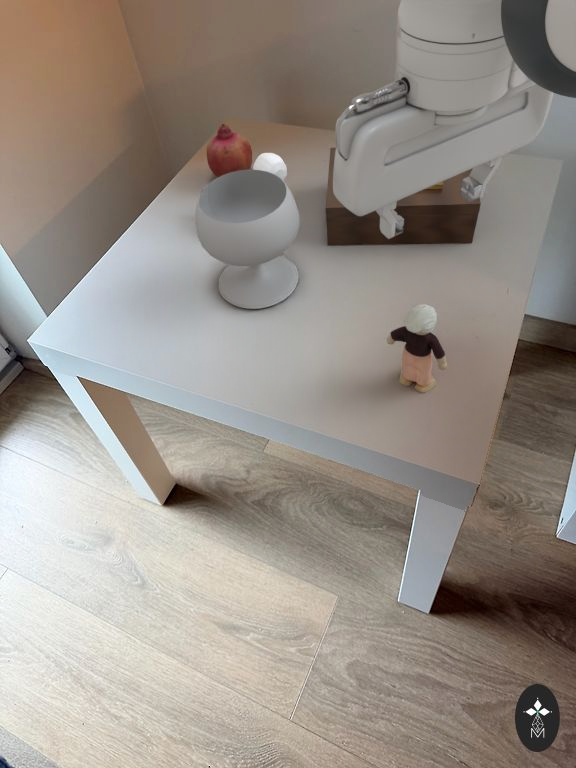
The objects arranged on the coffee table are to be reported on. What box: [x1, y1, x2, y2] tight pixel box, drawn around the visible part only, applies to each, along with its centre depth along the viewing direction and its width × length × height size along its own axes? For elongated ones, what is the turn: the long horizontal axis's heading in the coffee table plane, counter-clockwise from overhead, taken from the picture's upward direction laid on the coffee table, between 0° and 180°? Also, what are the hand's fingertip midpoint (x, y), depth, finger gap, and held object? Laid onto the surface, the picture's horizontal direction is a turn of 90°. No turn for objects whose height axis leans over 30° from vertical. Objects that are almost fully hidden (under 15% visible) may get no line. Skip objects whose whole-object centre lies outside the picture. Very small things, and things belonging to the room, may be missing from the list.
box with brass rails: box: [325, 147, 482, 246], centre depth 85 cm, size 22×16×8 cm
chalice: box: [194, 169, 300, 310], centre depth 75 cm, size 14×14×15 cm
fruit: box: [206, 123, 253, 178], centre depth 94 cm, size 8×8×10 cm
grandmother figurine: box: [386, 303, 448, 394], centre depth 63 cm, size 8×4×13 cm, turn 65°
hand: (431, 214), depth 52 cm, fingers open, 8 cm apart
